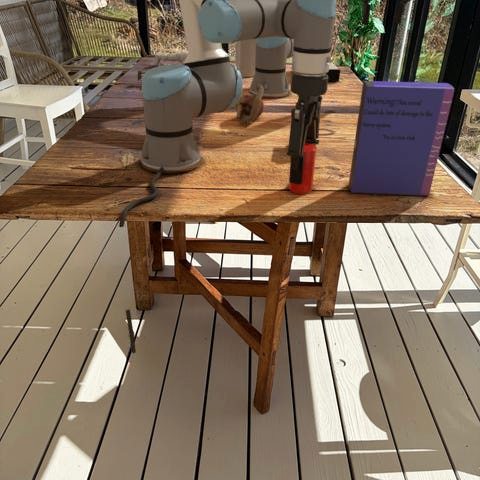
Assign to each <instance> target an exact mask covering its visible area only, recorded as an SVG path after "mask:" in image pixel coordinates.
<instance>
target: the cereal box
mask: <svg viewBox="0 0 480 480" xmlns="http://www.w3.org/2000/svg"><path fill="white" fill-rule="evenodd" d="M454 93H455V88H454V86H453V85H452V84H450V83H448V82H419V81H417V82H415V81H386V80H385V81H381V80H363V82H362V88H361V96H360V100H359V101H360V102H359V108H358V115H357V123H356V130H355V137H354V144H353V151H352V158H351V164H350V172H349V177H348V178H349V179H348V187H349V190H350V193H351V194H373V195H395V196H397V195H398V196H420V197H421V196H423V197H430V193H431V190H432V189H431V188H432V185H433V180H434V176H435V172H436V168H437V164H438V160H439V156H440V152H441V147H442V143H443V139H444V135H445V132H446V126H447V123H448V119H449V118H448V117H449V115H450V110H451V106H452V103H453V97H454Z"/></svg>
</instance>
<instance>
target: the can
mask: <svg viewBox="0 0 480 480" xmlns="http://www.w3.org/2000/svg"><path fill="white" fill-rule="evenodd" d="M316 155H317V145H316V146H315V145H313V144H310V143H305V145H304V151H303V156H304V165H303V176H302V184H301V185H299V184H294V183H289V182H288V190H289V191H290V192H292V193H293V194H294V193H295V194H298V195H299V194H300V195H304V194H309V193H311V192H312V191H313V184H314V175H315V167H316V166H315V165H316ZM290 166H291V161H290V164H289V167H290ZM288 177H289V178H288V180H289V179H290V175H289V176H288Z"/></svg>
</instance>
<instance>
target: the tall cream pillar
mask: <svg viewBox="0 0 480 480" xmlns="http://www.w3.org/2000/svg"><path fill="white" fill-rule="evenodd" d="M255 40H256V39H249V40H243V41H236V42H235V59H234V60H235V62H234V63H235V64H234V65H235V66H236V67H237V68H238V70H239V71H240V73H241V76H242V78H253V77H254V74H255V55H256V41H255Z"/></svg>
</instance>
